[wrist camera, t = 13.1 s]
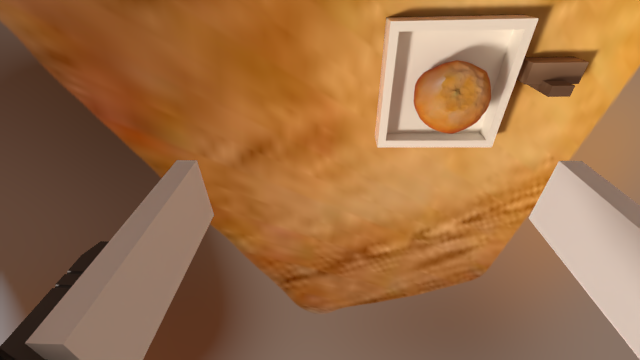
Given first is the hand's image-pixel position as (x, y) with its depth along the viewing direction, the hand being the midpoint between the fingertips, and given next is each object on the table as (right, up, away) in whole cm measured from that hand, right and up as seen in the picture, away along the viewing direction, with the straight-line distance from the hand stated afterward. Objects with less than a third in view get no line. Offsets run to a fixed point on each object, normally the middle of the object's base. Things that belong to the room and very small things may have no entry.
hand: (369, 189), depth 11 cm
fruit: (+13, +12, +25) cm, 31 cm away
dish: (+13, +13, +26) cm, 32 cm away
